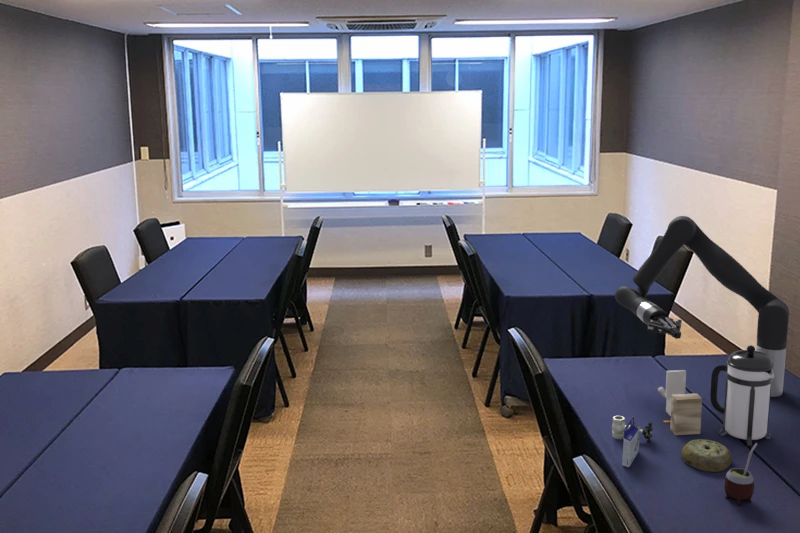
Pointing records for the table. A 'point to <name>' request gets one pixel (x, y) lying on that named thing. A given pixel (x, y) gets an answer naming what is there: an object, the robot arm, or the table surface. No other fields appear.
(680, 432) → the rod stand
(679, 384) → the white upright panel
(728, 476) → the mate gourd
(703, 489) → the table surface
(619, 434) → the valve
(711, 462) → the weight
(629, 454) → the ink box
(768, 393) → the coffee press
